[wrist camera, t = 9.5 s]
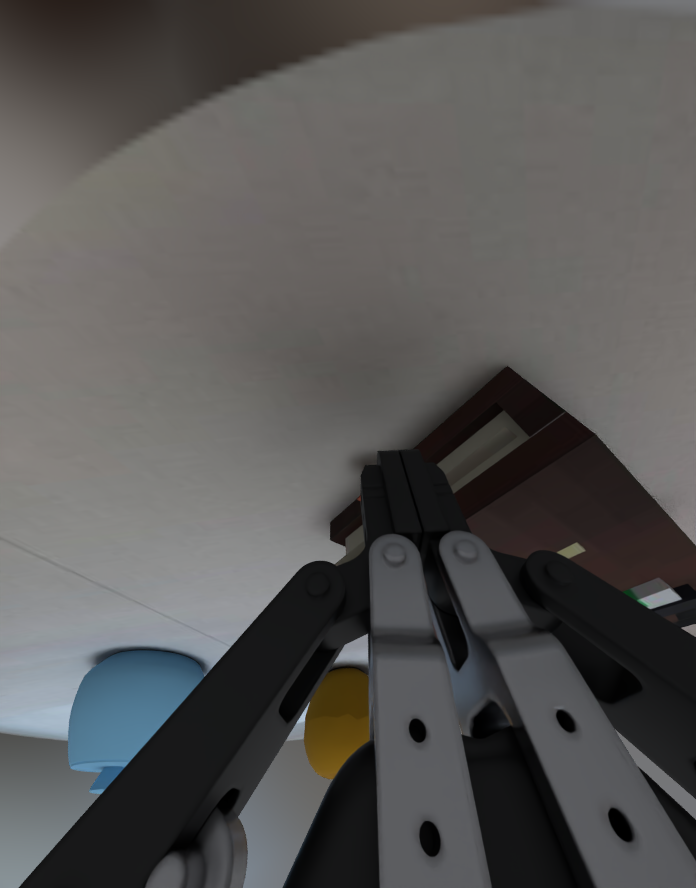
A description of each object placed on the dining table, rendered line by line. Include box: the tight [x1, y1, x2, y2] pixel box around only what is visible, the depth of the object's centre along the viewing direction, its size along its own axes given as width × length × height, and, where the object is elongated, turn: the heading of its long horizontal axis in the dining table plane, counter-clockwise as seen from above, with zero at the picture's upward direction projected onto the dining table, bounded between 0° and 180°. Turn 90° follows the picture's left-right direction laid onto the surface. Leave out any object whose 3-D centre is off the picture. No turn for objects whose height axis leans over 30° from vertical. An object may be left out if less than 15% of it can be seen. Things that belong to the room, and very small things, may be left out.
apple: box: [304, 668, 369, 779], centre depth 43 cm, size 13×13×11 cm
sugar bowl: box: [68, 650, 204, 794], centre depth 36 cm, size 15×15×12 cm
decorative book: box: [330, 366, 696, 639], centre depth 22 cm, size 19×8×30 cm
